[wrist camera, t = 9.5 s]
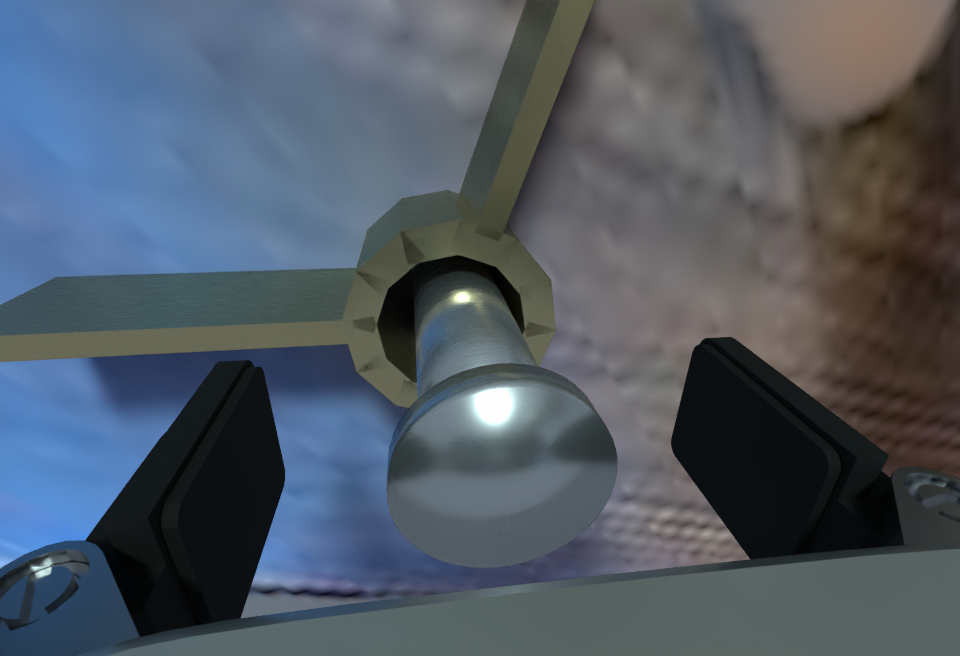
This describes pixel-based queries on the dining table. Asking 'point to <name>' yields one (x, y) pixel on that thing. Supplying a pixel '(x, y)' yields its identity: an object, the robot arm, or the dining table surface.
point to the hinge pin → (490, 433)
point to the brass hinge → (338, 292)
